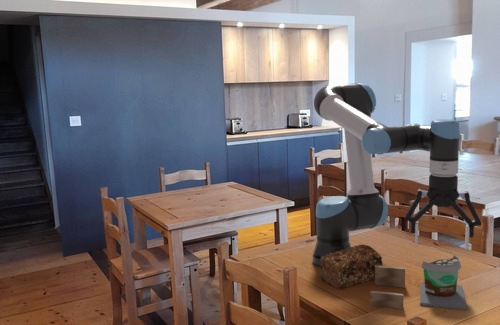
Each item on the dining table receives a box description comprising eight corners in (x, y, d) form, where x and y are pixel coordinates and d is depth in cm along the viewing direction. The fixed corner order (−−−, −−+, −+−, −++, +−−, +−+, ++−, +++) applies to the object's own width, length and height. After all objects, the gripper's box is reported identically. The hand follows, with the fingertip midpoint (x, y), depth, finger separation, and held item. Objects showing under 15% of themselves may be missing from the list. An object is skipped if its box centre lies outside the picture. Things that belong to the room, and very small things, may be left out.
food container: (436, 301, 131) (436, 268, 130) (421, 293, 137) (421, 261, 136) (470, 293, 135) (470, 261, 134) (454, 286, 141) (455, 254, 140)
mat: (420, 305, 131) (420, 302, 131) (420, 284, 145) (420, 282, 145) (466, 310, 127) (466, 307, 127) (462, 288, 141) (462, 285, 141)
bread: (362, 268, 162) (362, 240, 160) (384, 278, 152) (384, 249, 151) (318, 279, 153) (317, 250, 152) (338, 291, 144) (337, 260, 143)
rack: (370, 305, 133) (370, 285, 132) (375, 283, 148) (375, 265, 147) (403, 309, 130) (403, 288, 129) (405, 286, 145) (405, 267, 144)
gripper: (396, 175, 132) (395, 246, 136) (494, 178, 123) (490, 254, 127) (398, 170, 139) (397, 238, 142) (490, 173, 130) (487, 245, 134)
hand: (441, 245), depth 135 cm, fingers open, 13 cm apart
